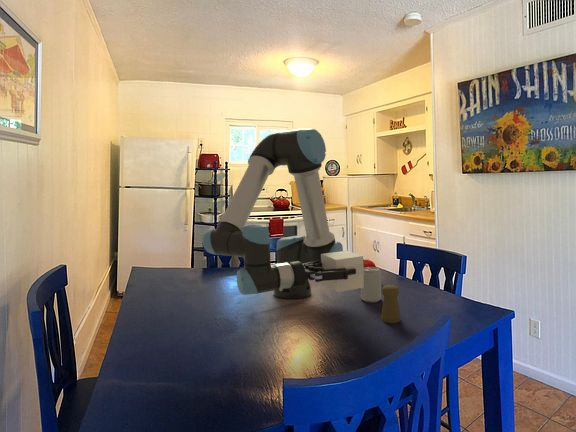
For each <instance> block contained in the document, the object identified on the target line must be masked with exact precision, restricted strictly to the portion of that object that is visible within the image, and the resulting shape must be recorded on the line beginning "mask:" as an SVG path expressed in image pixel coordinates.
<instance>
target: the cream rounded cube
mask: <svg viewBox="0 0 576 432" xmlns="http://www.w3.org/2000/svg"><path fill="white" fill-rule="evenodd" d="M363 259H364V255H361V254H358V253H355V252H352V251H349V250H343V251H340V252H332V253H325V254H321V263H322V267H323V268H324V269H333V268H335V269H339V268H344V267H349V266H355V265H363ZM321 285H322V286H324V287H326V288H327V289H330V290H331V291H334V292H335V293H340V292H347V291H354V290H358V289H361V288H364V274H358V275H352V276H348V279H346V280H345V279H340V280H327V281H321Z"/></svg>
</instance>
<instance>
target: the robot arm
mask: <svg viewBox="0 0 576 432" xmlns="http://www.w3.org/2000/svg"><path fill="white" fill-rule="evenodd" d="M326 147H327V146H326V142H325V140H324V138H323V136H322V134H321V133H320V132H319V131H318V130H317V129H315V128H305V127H304V128H297V129H296V128H295V129H290V130H283V131H275V132H273V133H270V134H268V135H267V136H266V137H264V138H263V139H262V140H261V141H260V142H259V143H258V144H257V145H256V146H255V148H254V149H253V151H252V153H250V156H249V158H248V159H247V164H248V167H247V168H246V170H245V172H244V175H243V176H242V178H241V180H240V182H239V183H238V186H237V187H236V189H235V192H234V193H233V195H232V197H231V199H230V202H229V204H228V205H227V207H226V209H225V211H224V213H223V214H222V217H221V219H220V220H219V223H218V224H217V226H216V229H215V228H213V229H210V230H207V231H206V232H205V233H204V236H203V239H202V246H203V248H204V250H205V251H206V252H207V253H209V254H212V255H217V256H227V257H228V256H231V257H238V258H243V261H244V262H243V264H244V265H243V267H242V268H239V269H238V270H237V271H236V284H237V288H238V291H239V292H240V294H242V295H243V296H244V295H259V294H262V293H267V292H273V295H274V296H275V297H276V296H277V297H276V298H279V297H280V299H284V298H285V299H284V300H298V299H303V298H306V297H309V296H311V294H312V287H311V284H310V281H314V282H316V283H319V282H322V281H327V280H340V279H345V280H346V279H348V276H352V275H358V274H364V265H355V266H349V267H344V268H339V269H335V268H333V269H324V268H323V267H322V263H321V254H325V253H332V252H340V251H344V248H343V243H341V242H340V241H336V239H335V235H334V233H332V232H331V231H330V228H329V221H328V217H327V211H326V205H325V200H324V194H323V189H322V184H321V178H320V173H319V171H320V169H321V168H322V163H323V162H324V161H325V159H326V156H327V154H326V152H327V148H326ZM280 166H287V170H288V173H289V174H290V175H292V176H293V179H294V183H295V188H296V192H297V196H298V197H297V198H298V201H299V206H300V210H301V211H300V212H301V215H302V221H303V224H304V229H305V234H306V235H301V234H300V235H292V236H287V237H281V238H279V239H277V241H276V249H275V250H276V263H274V264H271V239H270V230H269V226H267V225H265V224H250V225H249V224H248V225H246V224H247V222H248V220H249V217H250V216H251V214H252V212H253V210H254V207H255V205H256V203H257V201H258V198H259V196H260V194H261V192H262V191H263V188H264V186H265V184H266V182H267V180H268V178H269V176H271V175H273V173H274V171H275V170H276V169H277V167H280Z"/></svg>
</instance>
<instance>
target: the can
mask: <svg viewBox="0 0 576 432" xmlns="http://www.w3.org/2000/svg"><path fill="white" fill-rule="evenodd" d="M360 298H361V299H362V300H363V302H365V303H378V302H379V301H380V300H381V299H382V272H381V271H380V268H378V267H376V268H375V267H365V268H364V288H360Z"/></svg>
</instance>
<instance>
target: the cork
mask: <svg viewBox="0 0 576 432" xmlns="http://www.w3.org/2000/svg"><path fill="white" fill-rule="evenodd" d="M399 294H400V290H399V287H397V286H396V285H393V284H385V285H384V286H383V287H382V288H381V295H383V301H382V309H381V316H380V320H381V322H384V323H387V324H398V323H400V322H401V315H400V308H399V307H400V306H399V301H398V300H399V299H398V297H399Z"/></svg>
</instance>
